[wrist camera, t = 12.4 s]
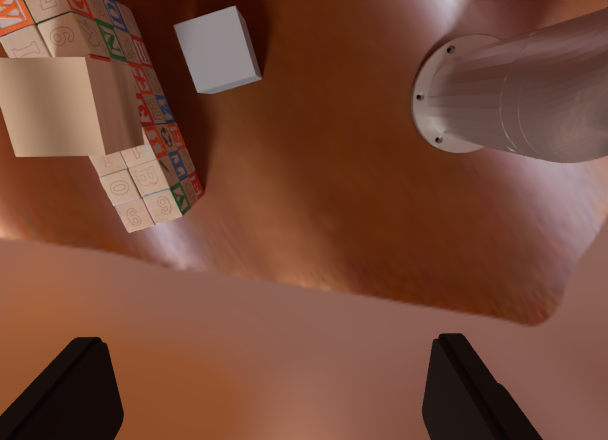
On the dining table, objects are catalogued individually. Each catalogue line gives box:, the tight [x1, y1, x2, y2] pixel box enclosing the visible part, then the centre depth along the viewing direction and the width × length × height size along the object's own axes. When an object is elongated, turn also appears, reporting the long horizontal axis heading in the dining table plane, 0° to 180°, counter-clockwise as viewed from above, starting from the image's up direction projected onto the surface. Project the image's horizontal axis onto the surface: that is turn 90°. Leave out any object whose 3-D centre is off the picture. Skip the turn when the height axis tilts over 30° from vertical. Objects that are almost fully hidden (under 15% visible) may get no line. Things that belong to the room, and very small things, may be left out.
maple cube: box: [0, 57, 145, 157], centre depth 24 cm, size 6×6×6 cm
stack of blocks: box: [0, 0, 205, 233], centre depth 33 cm, size 21×6×12 cm, turn 17°
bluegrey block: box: [173, 6, 262, 94], centre depth 34 cm, size 6×6×6 cm
